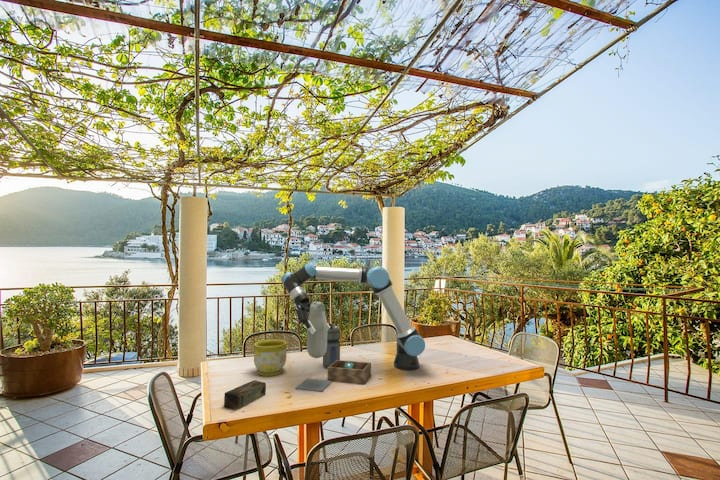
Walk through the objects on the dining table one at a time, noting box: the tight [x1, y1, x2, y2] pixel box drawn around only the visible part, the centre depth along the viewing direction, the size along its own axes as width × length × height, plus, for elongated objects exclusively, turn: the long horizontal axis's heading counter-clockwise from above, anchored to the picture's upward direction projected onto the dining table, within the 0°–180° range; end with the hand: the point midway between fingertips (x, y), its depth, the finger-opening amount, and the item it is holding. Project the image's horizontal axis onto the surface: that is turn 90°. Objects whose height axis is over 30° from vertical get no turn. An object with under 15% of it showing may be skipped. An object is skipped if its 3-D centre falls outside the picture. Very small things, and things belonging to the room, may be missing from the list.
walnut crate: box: [326, 359, 372, 385], centre depth 187 cm, size 20×14×7 cm
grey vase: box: [306, 300, 328, 359], centre depth 177 cm, size 10×10×28 cm
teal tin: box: [344, 362, 354, 369], centre depth 189 cm, size 5×5×6 cm
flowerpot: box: [253, 338, 288, 377], centre depth 197 cm, size 18×18×16 cm
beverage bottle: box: [322, 323, 341, 369], centre depth 208 cm, size 10×13×25 cm
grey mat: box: [295, 378, 333, 393], centre depth 176 cm, size 14×14×1 cm
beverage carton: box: [223, 379, 267, 411], centre depth 157 cm, size 8×19×7 cm, turn 156°
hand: (321, 330), depth 175 cm, fingers closed on grey vase, 10 cm apart
